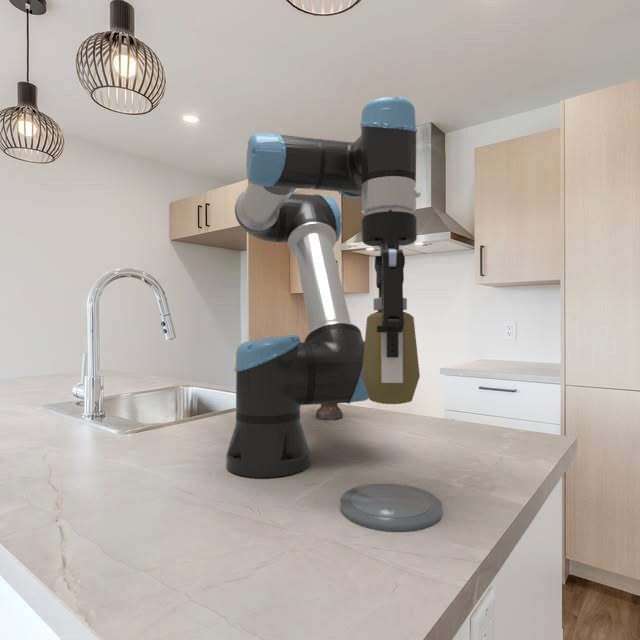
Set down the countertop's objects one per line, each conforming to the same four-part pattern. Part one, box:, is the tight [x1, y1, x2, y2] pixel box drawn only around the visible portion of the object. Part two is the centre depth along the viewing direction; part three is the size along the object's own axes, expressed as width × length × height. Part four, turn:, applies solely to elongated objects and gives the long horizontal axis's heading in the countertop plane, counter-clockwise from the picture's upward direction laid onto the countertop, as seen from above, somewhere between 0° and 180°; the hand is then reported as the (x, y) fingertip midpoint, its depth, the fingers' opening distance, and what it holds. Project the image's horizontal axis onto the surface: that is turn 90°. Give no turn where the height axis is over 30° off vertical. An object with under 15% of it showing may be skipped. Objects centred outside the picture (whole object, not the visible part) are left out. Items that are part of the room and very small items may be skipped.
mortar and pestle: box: [315, 403, 344, 421], centre depth 125 cm, size 12×9×20 cm
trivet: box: [339, 482, 443, 533], centre depth 64 cm, size 14×14×1 cm
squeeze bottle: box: [362, 293, 421, 405], centre depth 64 cm, size 8×8×18 cm
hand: (389, 378), depth 64 cm, fingers closed on squeeze bottle, 8 cm apart
